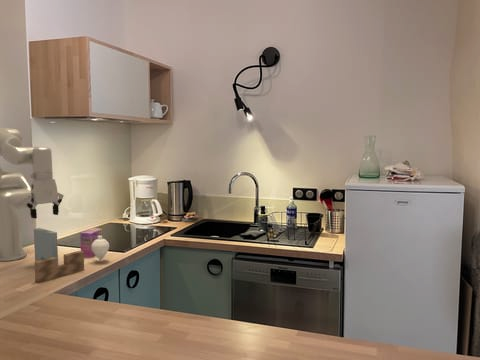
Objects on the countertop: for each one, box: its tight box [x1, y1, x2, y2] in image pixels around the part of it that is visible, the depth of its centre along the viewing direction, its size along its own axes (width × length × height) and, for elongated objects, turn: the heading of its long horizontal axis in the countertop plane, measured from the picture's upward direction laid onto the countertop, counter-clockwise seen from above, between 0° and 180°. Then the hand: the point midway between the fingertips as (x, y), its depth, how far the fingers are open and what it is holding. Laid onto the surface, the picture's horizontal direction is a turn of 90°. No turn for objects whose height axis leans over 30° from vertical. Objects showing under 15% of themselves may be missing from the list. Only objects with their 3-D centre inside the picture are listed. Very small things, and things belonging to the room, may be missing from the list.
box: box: [79, 227, 103, 259], centre depth 202 cm, size 10×6×12 cm, turn 168°
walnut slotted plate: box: [34, 250, 85, 284], centre depth 171 cm, size 20×2×8 cm, turn 144°
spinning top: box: [91, 235, 110, 263], centre depth 190 cm, size 8×8×12 cm
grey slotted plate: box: [33, 227, 59, 266], centre depth 182 cm, size 14×2×16 cm, turn 54°
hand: (45, 216), depth 181 cm, fingers open, 9 cm apart
